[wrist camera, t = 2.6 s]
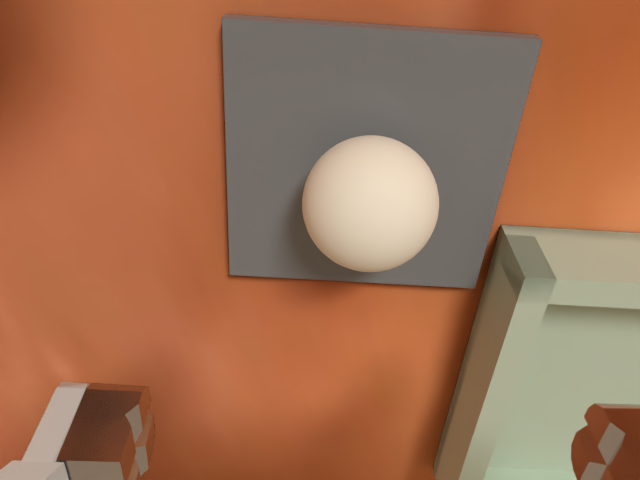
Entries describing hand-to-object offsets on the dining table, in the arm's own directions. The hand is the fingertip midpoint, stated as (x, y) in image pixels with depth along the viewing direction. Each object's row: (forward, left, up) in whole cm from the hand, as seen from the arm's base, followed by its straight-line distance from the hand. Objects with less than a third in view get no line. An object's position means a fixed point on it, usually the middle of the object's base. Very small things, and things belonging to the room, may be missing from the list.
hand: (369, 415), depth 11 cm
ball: (-1, 0, -10) cm, 10 cm away
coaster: (-1, 0, -10) cm, 10 cm away
